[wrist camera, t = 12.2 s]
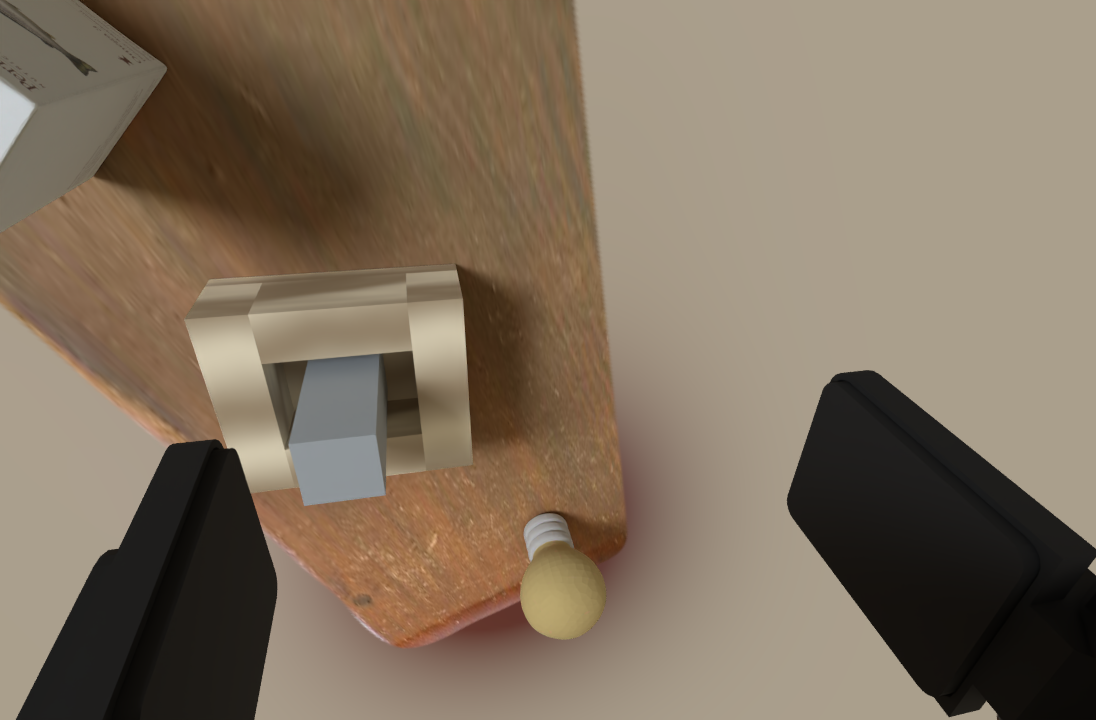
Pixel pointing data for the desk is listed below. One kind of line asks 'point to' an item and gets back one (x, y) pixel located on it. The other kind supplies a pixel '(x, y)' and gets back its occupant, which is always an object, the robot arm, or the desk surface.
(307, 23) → the desk surface
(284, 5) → the desk surface
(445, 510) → the desk surface
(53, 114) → the supplement box
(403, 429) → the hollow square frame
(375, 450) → the grey rectangular prism
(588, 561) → the light bulb
